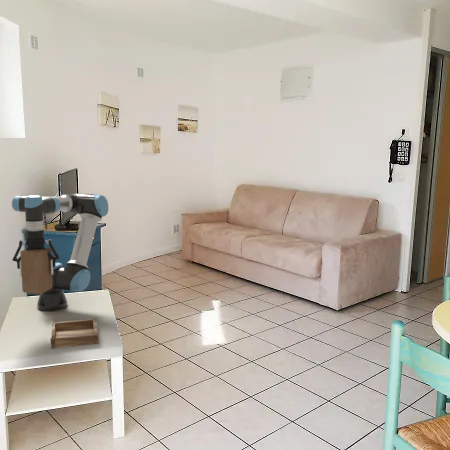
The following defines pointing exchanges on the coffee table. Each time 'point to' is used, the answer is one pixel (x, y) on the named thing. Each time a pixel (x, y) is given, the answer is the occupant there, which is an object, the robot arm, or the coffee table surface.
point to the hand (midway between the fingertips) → (37, 274)
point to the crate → (74, 333)
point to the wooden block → (36, 271)
